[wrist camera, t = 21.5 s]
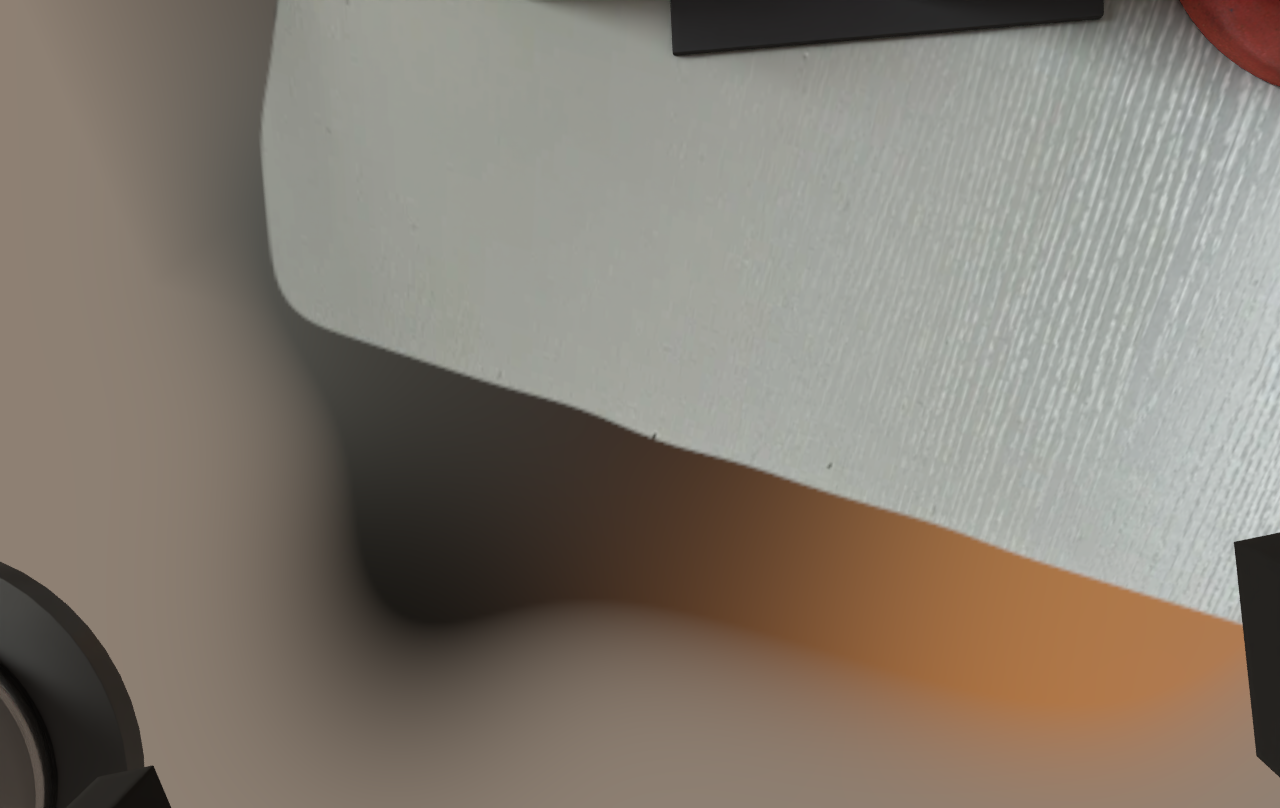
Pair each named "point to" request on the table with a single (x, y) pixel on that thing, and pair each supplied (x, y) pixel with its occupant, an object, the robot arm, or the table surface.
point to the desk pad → (851, 20)
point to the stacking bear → (1242, 32)
